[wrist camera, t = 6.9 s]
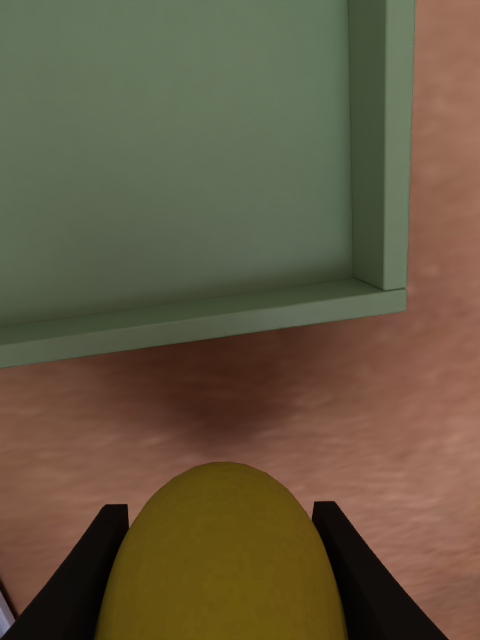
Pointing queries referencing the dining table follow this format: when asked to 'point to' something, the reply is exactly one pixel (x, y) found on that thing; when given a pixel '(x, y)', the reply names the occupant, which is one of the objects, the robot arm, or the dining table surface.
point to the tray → (199, 169)
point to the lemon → (222, 565)
